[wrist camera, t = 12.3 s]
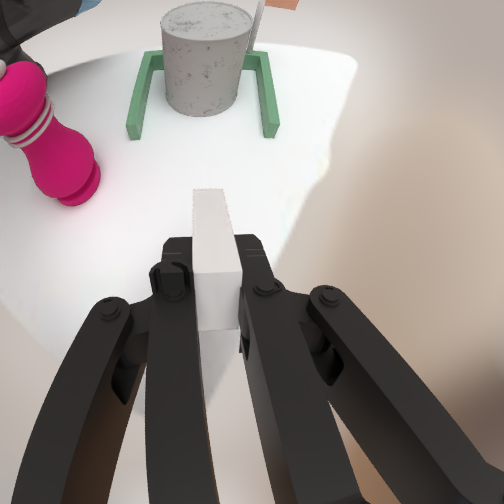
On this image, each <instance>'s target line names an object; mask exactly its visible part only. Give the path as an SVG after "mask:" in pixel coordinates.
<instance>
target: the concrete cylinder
mask: <svg viewBox="0 0 504 504" xmlns="http://www.w3.org/2000/svg"><path fill="white" fill-rule="evenodd" d="M160 24H161V28H162V45H163V60H164V72H165V84H166V99H167V101H168V103H169V105H170V106H171V107H172V108H173V109H174V110H176V111H178V112H179V113H182V114H185V115H187V116H194V117H206V116H212V115H215V114H218V113H221V112H223V111H225V110H226V109H228V108H229V107H230V106H231V105H232V104H233V103H234V101H235V100H236V96H237V89H238V84H239V79H240V75H241V70H242V66H243V61H244V57H245V52H246V48H247V44H248V39H249V35H250V31H251V28H252V26H253V18H252V17H251V15H250V14H249V13H248V12H246V11H245V10H243V9H241V8H240V7H237V6H234V5H232V4H227V3H223V2H214V1H213V2H212V1H202V2H193V3H188V4H184V5H181V6H178V7H176V8H173V9H172V10H170V11H168V12H167V13H166V14H165V15H164V16H163V17H162V19H161V22H160Z"/></svg>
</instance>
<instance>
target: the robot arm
mask: <svg viewBox="0 0 504 504" xmlns="http://www.w3.org/2000/svg"><path fill="white" fill-rule="evenodd" d="M100 2H101V0H0V60H3V61H4V62H5V64H6V67H7V66H9V65H11V64H13V63H16V62H20V61H28V62H33V63H34V64H36V65H37V66H39V67H40V69H41V70H42V71H43V73H44V75H45V78H46V83H47V75H46V73H45V71H44V69H43V67H42V66H41V65H40V64H39V63H38V62H35V61H33V59H32V58H30V57H29V56H28V55H27V54H26V53H25V52H24V51H23V50H22V49H21V46H20V44H21V43H23V42H24V41H26V40H28V39H30V38H32V37H33V36H35V35H37V34H39V33H41V32H43V31H45V30H46V29H48V28H50V27H52V26H54V25H56V24H59V23H61V22H63V21H65V20H67V19H70V18H72V17H76V16H78V15H79V14H80V13H82V12H84V11H86V10H89V9H91V8H93V7H95V6H97V5H98V4H99V3H100ZM149 277H150V282H151V287H152V292H153V295H152V296H150V297H149V298H147V299H146V300H143V301H141V302H137V303H134V304H130V305H129V303H127V302H126V301H125V300H124V299H122V298H119V297H108V298H104V299H102V300H100V301H99V302H97V303H96V304H95V305H94V306H93V308H92V309H91V311H90V312H89V314H88V316H87V318H86V319H85V321H84V323H83V325H82V326H81V328H80V330H79V332H78V334H77V335H76V337H75V339H74V341H73V343H72V345H71V346H70V348H69V350H68V352H67V354H66V356H65V358H64V360H63V362H62V364H61V366H60V368H59V370H58V372H57V374H56V376H55V378H54V381H53V383H52V385H51V387H50V389H49V391H48V394H47V396H46V398H45V400H44V403H43V405H42V407H41V410H40V412H39V415H38V417H37V420H36V422H35V425H34V427H33V430H32V433H31V436H30V438H29V441H28V444H27V447H26V450H25V453H24V456H23V459H22V463H21V466H20V469H19V473H18V476H17V480H16V484H15V488H14V492H13V496H12V501H11V504H107V502H108V498H109V493H110V489H111V484H112V480H113V476H114V472H115V468H116V464H117V460H118V456H119V452H120V449H121V445H122V442H123V438H124V434H125V431H126V427H127V424H128V421H129V417H130V414H131V411H132V407H133V404H134V401H135V398H136V395H137V391H138V388H139V385H140V382H141V379H142V376H143V373H144V370H145V367H146V364H147V367H146V391H145V442H146V443H145V444H146V468H147V480H148V481H147V482H148V493H149V504H220V502H219V497H218V491H217V486H216V480H215V475H214V468H213V461H212V454H211V447H210V440H209V433H208V426H207V417H206V408H205V399H204V390H203V380H202V369H201V357H200V345H199V334H198V331H215V330H231V329H238V326H239V325H240V330H241V335H240V347H239V353H243V359H244V364H245V369H246V374H247V378H248V384H249V388H250V393H251V398H252V403H253V408H254V413H255V417H256V422H257V427H258V431H259V436H260V440H261V445H262V449H263V453H264V458H265V462H266V467H267V471H268V475H269V480H270V484H271V488H272V492H273V496H274V500H275V504H370V503H369V502H367V501H366V500H365V499H364V498H363V497H362V495H361V492H360V490H359V487H358V484H357V481H356V478H355V475H354V472H353V469H352V466H351V464H350V461H349V458H348V455H347V452H346V449H345V446H344V444H343V441H342V438H341V435H340V432H339V430H338V427H337V424H336V421H335V419H334V416H333V413H332V411H331V408H330V405H329V402H330V404H331V405H332V407H333V408H334V409H335V411H336V412H337V414H338V415H339V417H340V418H341V420H342V421H343V423H344V424H345V425H346V427H347V428H348V430H349V431H350V432H351V434H352V435H353V437H354V438H355V440H356V441H357V443H358V444H359V445H360V447H361V448H362V450H363V451H364V453H365V454H366V455H367V457H368V458H369V460H370V461H371V463H372V464H373V465H374V467H375V468H376V470H377V471H378V473H379V474H380V475H381V477H382V478H383V479H384V481H385V482H386V484H387V485H388V486H389V488H390V489H391V490H392V492H393V493H394V495H395V496H396V497H397V499H398V500H399V501H400V503H401V504H504V472H503V471H501V470H499V469H497V468H496V467H494V466H492V465H490V464H488V463H487V462H486V461H485V460H484V459H483V457H482V456H481V455H480V453H479V452H478V451H477V449H476V448H475V447H474V445H473V444H472V443H471V441H470V440H469V439H468V437H467V436H466V435H465V433H464V432H463V431H462V430H461V428H460V427H459V426H458V424H457V423H456V422H455V421H454V419H453V418H452V417H451V416H450V414H449V413H448V412H447V411H446V409H445V408H444V407H443V406H442V405H441V403H440V402H439V401H438V400H437V398H436V397H435V396H434V395H433V393H432V392H431V391H430V390H429V389H428V387H427V386H426V385H425V384H424V382H422V380H421V379H420V378H419V376H418V375H417V374H416V373H415V372H414V371H413V369H412V368H411V367H410V366H409V365H408V364H407V363H406V361H405V360H404V359H403V358H402V357H401V355H400V354H399V353H398V352H397V351H396V350H395V349H394V348H393V346H392V345H391V344H390V343H389V342H388V341H387V340H386V338H385V337H384V336H383V335H382V334H381V333H380V332H379V330H378V329H377V328H376V327H375V326H374V325H373V324H372V323H371V322H370V320H369V319H368V318H367V317H366V316H365V315H364V314H363V313H362V312H361V311H360V309H358V307H357V306H356V305H355V304H354V303H353V302H352V301H351V300H350V299H349V298H348V296H346V294H345V293H344V292H342V291H341V290H340V289H338V288H335V287H333V286H328V285H322V286H318V287H315V288H313V290H312V291H311V292H310V295H307V294H301V293H295V292H291V291H288V290H286V289H285V287H284V285H283V284H282V283H281V282H280V281H279V280H277V279H276V278H274V275H273V272H272V270H271V267H270V264H269V262H268V259H267V256H266V254H265V251H264V250H263V246H262V243H261V241H260V240H259V239H258V238H257V237H256V236H255V235H254V234H241V235H234V233H233V229H232V225H231V221H230V216H229V212H228V208H227V204H226V199H225V195H224V191H223V189H193V230H192V237H174V238H169V239H168V240H167V241H166V242H165V244H164V245H163V251H162V258H161V262H159V263H157V264H156V265H154V266H153V267H152V268H151V270H150V272H149ZM328 401H329V402H328Z"/></svg>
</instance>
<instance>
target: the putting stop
mask: <svg viewBox="0 0 504 504" xmlns="http://www.w3.org/2000/svg"><path fill="white" fill-rule="evenodd" d="M298 1H299V0H259V2H258V6H257V10H256V14H255V18H254V21H253V26H252V30H251V34H250V38H249V42H248V46H247V50H246V52H245V57H244V61H243V66H242V69H247V70H256V75H257V83H258V91H259V98H260V106H261V115H262V123H263V131H264V138H274V136H275V134H276V132H277V130H278V127H279V125H280V121H279V115H278V109H277V103H276V97H275V91H274V85H273V80H272V74H271V69H270V64H269V58H268V53H267V52H260V51H252V50H253V46H254V42H255V38H256V34H257V30H258V27H259V23H260V20H261V16H262V13H263V9H264V6H272V7H278V8H285V9H290V10H295V9H296V6H297V4H298ZM162 69H164V60H163V50H158V51H148V52H144V56H143V59H142V62H141V66H140V69H139V72H138V76H137V80H136V83H135V87H134V91H133V95H132V99H131V104H130V108H129V113H128V117H127V122H126V128H127V131H128V134H129V137H130V139H131V140H138V139H140V137H141V131H142V124H143V118H144V113H145V107H146V102H147V97H148V92H149V87H150V83H151V78H152V74H153V70H162Z"/></svg>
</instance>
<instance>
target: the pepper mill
mask: <svg viewBox="0 0 504 504" xmlns="http://www.w3.org/2000/svg"><path fill="white" fill-rule="evenodd" d="M46 85H47V83H46V78H45V75H44V73H43V71H42V70H41V69H40V67H39V66H37V65H36V64H34V63H33V62H28V61H20V62H16V63H13V64H11V65H9V66H7V67H6V64H5V62H4V61H3V60H0V136H2V135H3V138H4V139H5V141H7V142H8V143H9V145H10V146H11V147H13V148H21V149H22V151H23V152H24V153H25V155H26V157H27V159H28V161H29V165H30V169H31V174H32V177H33V179H34V181H35V183H36V185H37V187H38V188H39V189H40V190H41V191H42V192H43V193H44V194H45V195H47V196H49V197H52V198H57V199H58V200H59V201H60V202H61V203H63V204H64V205H67V206H75V205H79V204H82V203H83V202H85V201H86V200H88V199H89V198H90V197H91V196H92V195H93V193H94V192H95V191H96V189H97V187H98V184H99V181H100V169H99V166H98V164H97V163H96V161H95V160H94V153H93V149H92V146H91V144H90V143H89V142H88V140H87V139H86V138H85V137H84V136H83V135H82V134H80V133H79V132H77V131H75V130H72V129H70V128H67V127H65V126H63V125H62V124H61V123H59V122H58V120H57V119H56V118H55V117H54V115H53V113H54V104H53V103H52V101H51V100H50V97H49V96H48V94H46Z"/></svg>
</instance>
